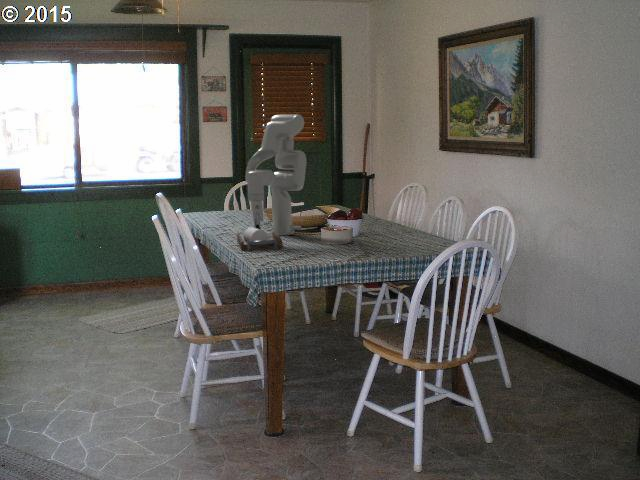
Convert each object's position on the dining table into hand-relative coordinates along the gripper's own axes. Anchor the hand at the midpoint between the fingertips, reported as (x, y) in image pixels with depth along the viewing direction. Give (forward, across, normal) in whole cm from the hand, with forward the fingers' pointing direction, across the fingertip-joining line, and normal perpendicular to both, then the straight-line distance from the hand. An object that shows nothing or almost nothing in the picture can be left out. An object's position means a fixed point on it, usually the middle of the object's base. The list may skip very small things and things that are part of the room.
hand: (257, 236), depth 366 cm
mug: (+3, -8, 0) cm, 8 cm away
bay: (+3, -8, 0) cm, 9 cm away
